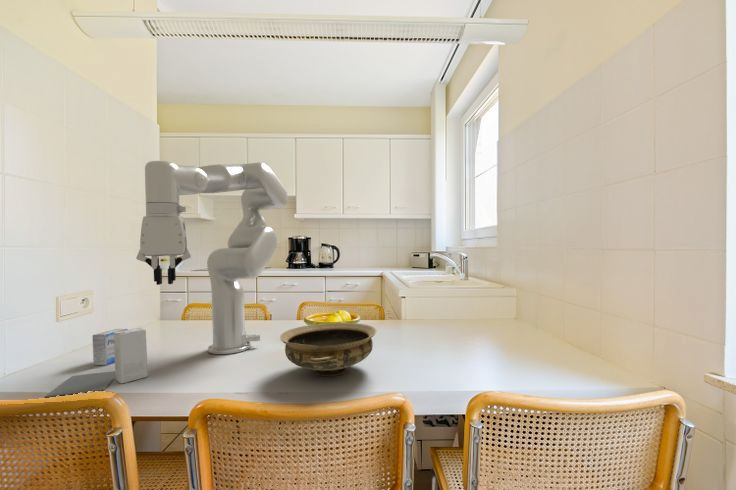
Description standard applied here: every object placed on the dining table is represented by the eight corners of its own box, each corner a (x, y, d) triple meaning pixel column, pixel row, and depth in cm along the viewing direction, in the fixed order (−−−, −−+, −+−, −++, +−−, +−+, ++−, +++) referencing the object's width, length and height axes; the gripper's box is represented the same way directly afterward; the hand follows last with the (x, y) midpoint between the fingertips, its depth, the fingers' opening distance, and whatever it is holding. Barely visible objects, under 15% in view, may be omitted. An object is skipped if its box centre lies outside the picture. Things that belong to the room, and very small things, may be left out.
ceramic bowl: (295, 355, 112) (295, 320, 112) (377, 353, 111) (376, 319, 111) (264, 395, 82) (263, 348, 82) (376, 394, 81) (375, 346, 81)
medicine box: (106, 366, 106) (105, 334, 106) (92, 365, 107) (91, 334, 107) (129, 357, 114) (128, 328, 114) (116, 357, 115) (115, 328, 115)
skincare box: (141, 374, 98) (140, 326, 98) (148, 377, 96) (147, 328, 96) (114, 380, 94) (112, 331, 94) (120, 384, 91) (119, 333, 91)
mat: (122, 371, 101) (122, 370, 101) (103, 390, 87) (103, 389, 87) (72, 377, 97) (72, 375, 97) (44, 398, 84) (44, 396, 84)
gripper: (198, 212, 103) (200, 281, 103) (131, 212, 98) (133, 284, 98) (195, 209, 96) (197, 283, 96) (122, 209, 91) (124, 287, 91)
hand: (165, 283), depth 97 cm, fingers closed
